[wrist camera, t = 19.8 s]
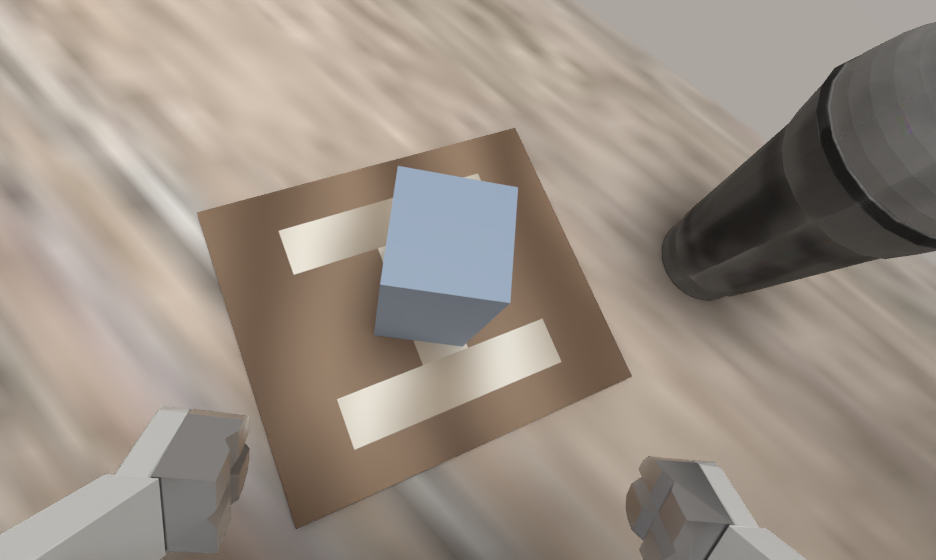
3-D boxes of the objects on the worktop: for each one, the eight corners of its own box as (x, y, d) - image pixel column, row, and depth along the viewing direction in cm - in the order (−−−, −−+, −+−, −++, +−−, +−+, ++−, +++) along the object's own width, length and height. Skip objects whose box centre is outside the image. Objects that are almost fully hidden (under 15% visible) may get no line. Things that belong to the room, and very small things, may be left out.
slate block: (386, 250, 24) (397, 165, 17) (470, 263, 25) (518, 187, 17) (373, 335, 23) (379, 284, 15) (462, 346, 23) (510, 303, 16)
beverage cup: (628, 196, 28) (1160, -288, 9) (744, 199, 30) (1403, -212, 11) (649, 327, 26) (1384, 45, 7) (773, 324, 28) (1646, 82, 9)
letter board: (512, 133, 28) (515, 127, 27) (626, 377, 25) (632, 376, 25) (200, 217, 23) (196, 212, 23) (297, 527, 21) (295, 528, 20)
